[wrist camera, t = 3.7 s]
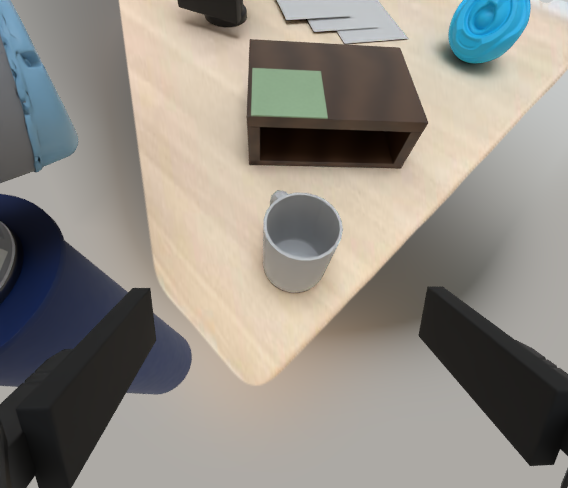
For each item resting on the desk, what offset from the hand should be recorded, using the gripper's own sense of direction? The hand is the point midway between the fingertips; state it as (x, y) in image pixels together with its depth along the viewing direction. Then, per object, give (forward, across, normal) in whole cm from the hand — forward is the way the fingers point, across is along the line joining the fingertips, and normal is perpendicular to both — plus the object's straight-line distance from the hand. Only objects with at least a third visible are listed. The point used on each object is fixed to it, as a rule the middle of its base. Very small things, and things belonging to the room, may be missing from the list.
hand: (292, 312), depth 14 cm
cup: (+21, +2, -4) cm, 21 cm away
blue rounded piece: (+51, +38, +26) cm, 69 cm away
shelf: (+36, +8, +11) cm, 39 cm away
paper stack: (+62, +13, +37) cm, 73 cm away
